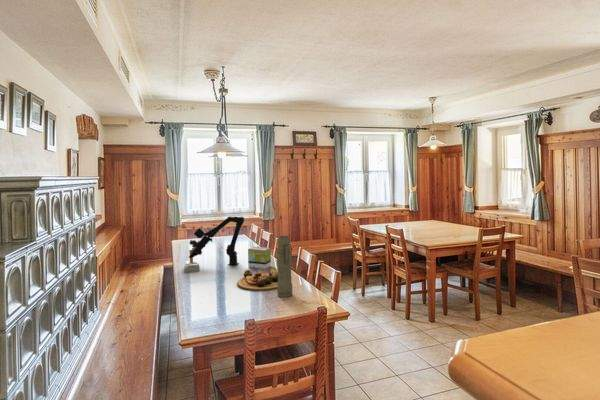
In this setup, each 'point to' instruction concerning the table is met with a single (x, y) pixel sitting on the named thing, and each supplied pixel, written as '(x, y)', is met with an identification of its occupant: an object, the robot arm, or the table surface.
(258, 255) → the tea box
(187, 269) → the box
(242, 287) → the wooden plate with food
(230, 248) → the robot arm
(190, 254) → the cover plate
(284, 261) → the grey-green tall block
